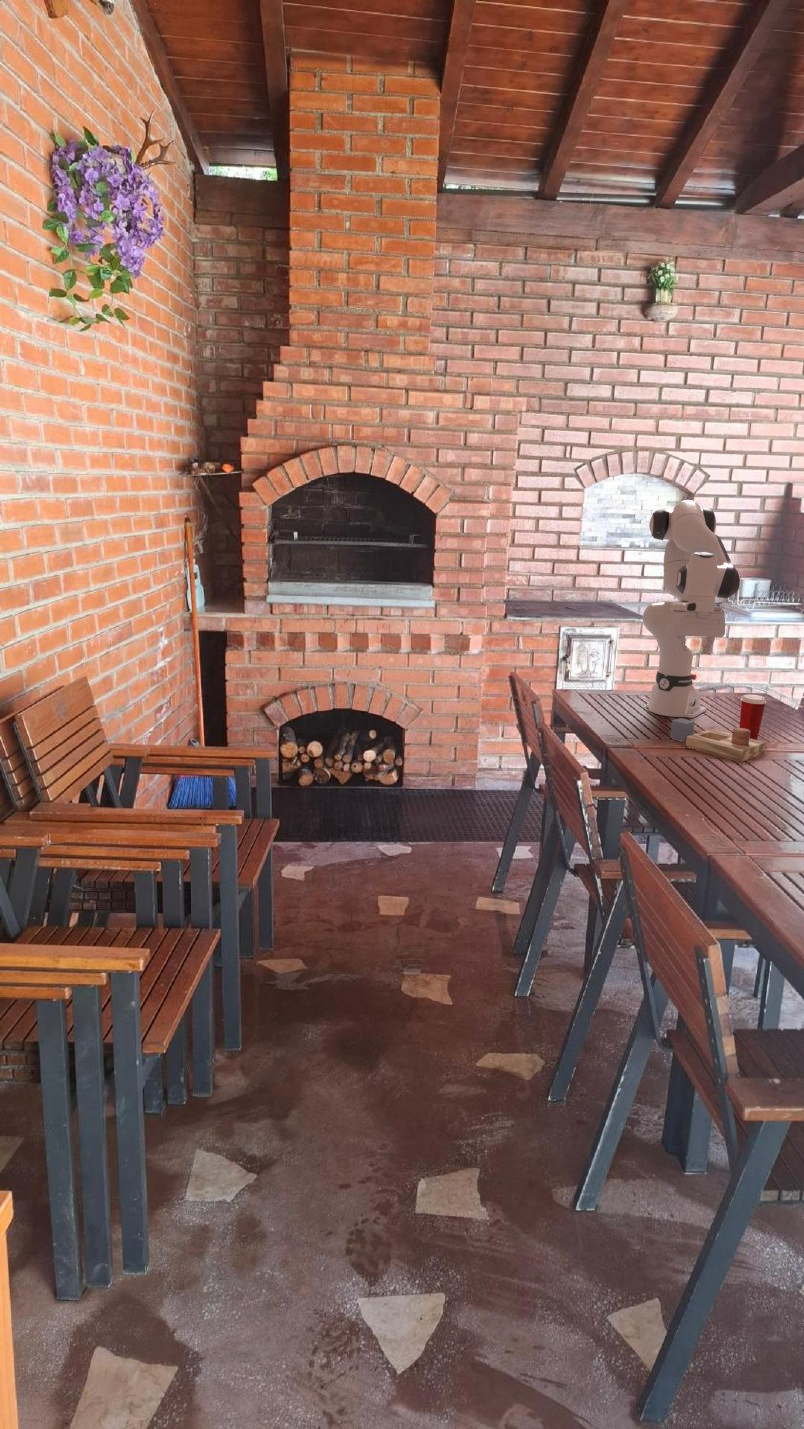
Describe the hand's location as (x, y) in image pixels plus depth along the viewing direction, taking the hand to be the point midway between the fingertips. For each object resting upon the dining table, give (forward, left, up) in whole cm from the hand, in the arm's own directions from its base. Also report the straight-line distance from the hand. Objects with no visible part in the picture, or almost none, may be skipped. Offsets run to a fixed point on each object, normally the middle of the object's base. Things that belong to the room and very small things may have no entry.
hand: (694, 651), depth 279 cm
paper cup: (-22, +10, -29) cm, 38 cm away
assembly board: (-4, +12, -29) cm, 32 cm away
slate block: (-4, -3, -29) cm, 30 cm away
